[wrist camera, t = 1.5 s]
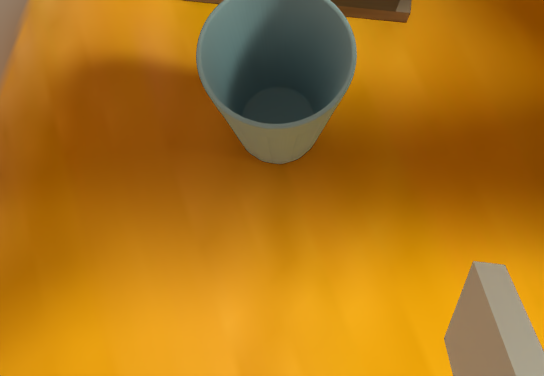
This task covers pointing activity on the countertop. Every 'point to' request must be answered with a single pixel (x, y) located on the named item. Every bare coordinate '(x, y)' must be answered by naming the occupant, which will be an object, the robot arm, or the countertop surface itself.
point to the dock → (366, 8)
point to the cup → (276, 71)
